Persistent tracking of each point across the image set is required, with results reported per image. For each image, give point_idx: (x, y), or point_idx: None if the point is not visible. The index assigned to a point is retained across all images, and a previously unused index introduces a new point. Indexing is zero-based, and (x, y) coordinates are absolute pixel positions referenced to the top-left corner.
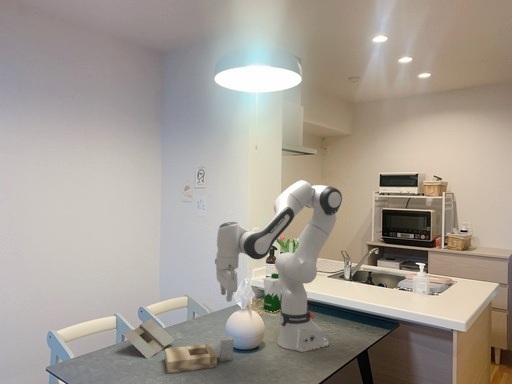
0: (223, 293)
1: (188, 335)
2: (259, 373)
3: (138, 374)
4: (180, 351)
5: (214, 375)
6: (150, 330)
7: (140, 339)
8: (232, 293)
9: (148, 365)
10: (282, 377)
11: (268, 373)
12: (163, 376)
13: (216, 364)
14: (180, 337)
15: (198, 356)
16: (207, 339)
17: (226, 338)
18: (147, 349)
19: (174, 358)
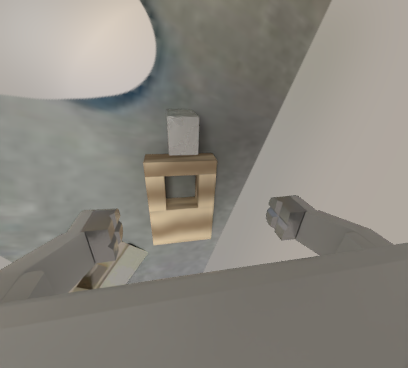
0: (116, 229)
1: (16, 189)
2: (273, 68)
3: (197, 256)
4: (172, 222)
5: (241, 162)
6: None
7: (107, 283)
8: (364, 231)
9: (172, 249)
10: (315, 15)
11: (283, 44)
12: (214, 230)
13: (212, 154)
14: (34, 207)
15: (206, 194)
16: (46, 145)
17: (184, 135)
18: (128, 261)
19: (200, 230)
